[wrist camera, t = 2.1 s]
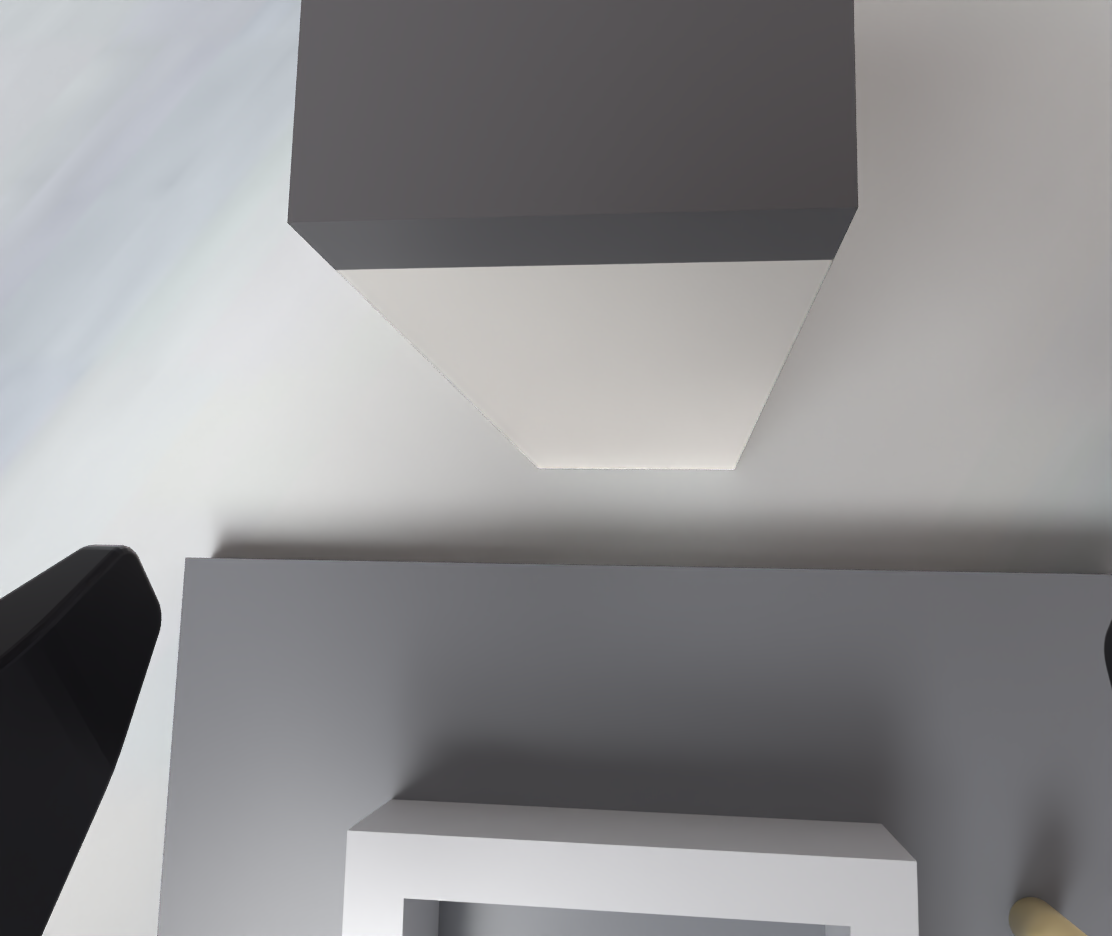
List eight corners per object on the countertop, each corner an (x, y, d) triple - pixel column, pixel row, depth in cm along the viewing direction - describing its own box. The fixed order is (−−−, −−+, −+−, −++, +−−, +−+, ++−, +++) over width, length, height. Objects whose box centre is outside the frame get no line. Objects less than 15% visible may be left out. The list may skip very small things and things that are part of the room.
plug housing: (538, 468, 20) (287, 223, 7) (542, 282, 20) (318, -269, 7) (734, 469, 19) (858, 207, 6) (733, 278, 20) (847, -316, 7)
